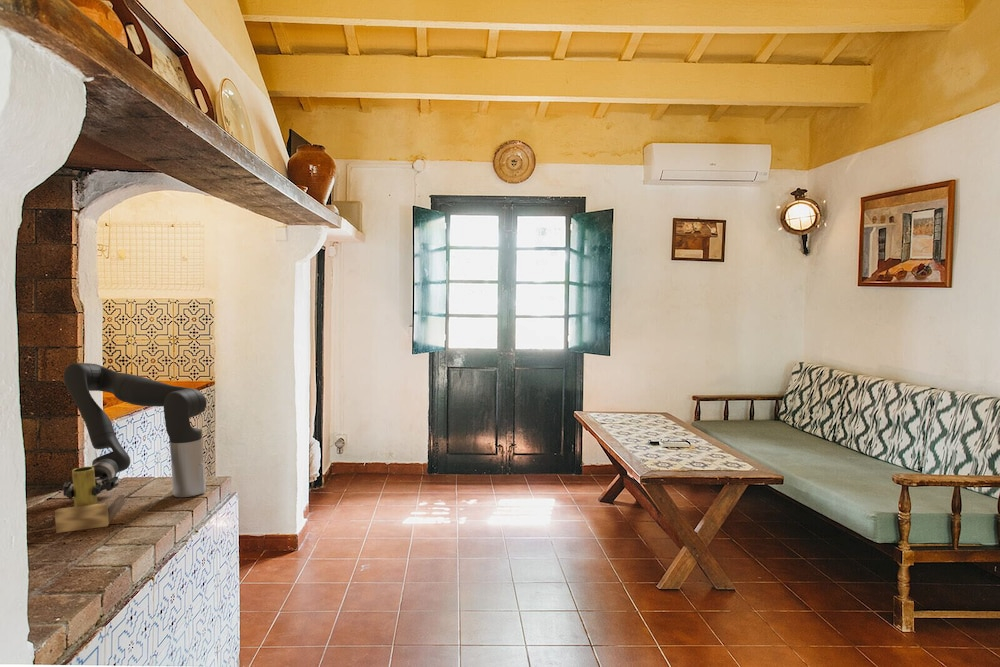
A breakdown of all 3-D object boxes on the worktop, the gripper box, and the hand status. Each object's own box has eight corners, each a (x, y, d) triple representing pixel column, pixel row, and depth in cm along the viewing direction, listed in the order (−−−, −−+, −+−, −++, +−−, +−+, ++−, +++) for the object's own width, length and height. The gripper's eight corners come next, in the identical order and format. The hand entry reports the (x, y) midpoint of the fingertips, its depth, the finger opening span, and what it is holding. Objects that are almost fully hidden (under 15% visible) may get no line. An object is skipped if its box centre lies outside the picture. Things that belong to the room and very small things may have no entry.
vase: (87, 523, 178) (83, 472, 177) (68, 522, 179) (64, 471, 178) (105, 515, 184) (101, 466, 183) (86, 514, 185) (82, 465, 184)
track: (124, 502, 199) (123, 483, 199) (107, 526, 178) (105, 504, 178) (79, 508, 195) (78, 488, 195) (56, 532, 174) (54, 511, 174)
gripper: (69, 467, 192) (50, 483, 176) (124, 462, 196) (110, 477, 180) (71, 492, 192) (53, 510, 176) (126, 486, 197) (112, 503, 181)
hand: (82, 493), depth 179 cm, fingers closed on vase, 5 cm apart
